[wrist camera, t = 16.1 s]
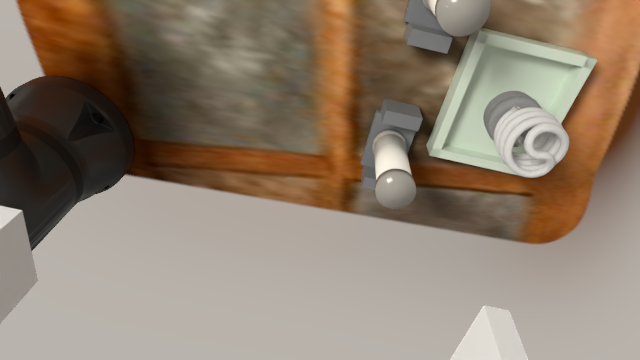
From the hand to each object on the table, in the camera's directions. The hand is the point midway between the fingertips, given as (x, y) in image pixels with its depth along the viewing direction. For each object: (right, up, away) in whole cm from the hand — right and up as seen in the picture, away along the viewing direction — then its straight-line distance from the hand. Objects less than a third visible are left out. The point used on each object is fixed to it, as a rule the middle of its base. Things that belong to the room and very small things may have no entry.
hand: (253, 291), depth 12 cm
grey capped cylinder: (+14, +22, +29) cm, 38 cm away
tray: (+22, +12, +34) cm, 42 cm away
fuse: (+10, +8, +38) cm, 40 cm away
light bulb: (+22, +12, +34) cm, 42 cm away
